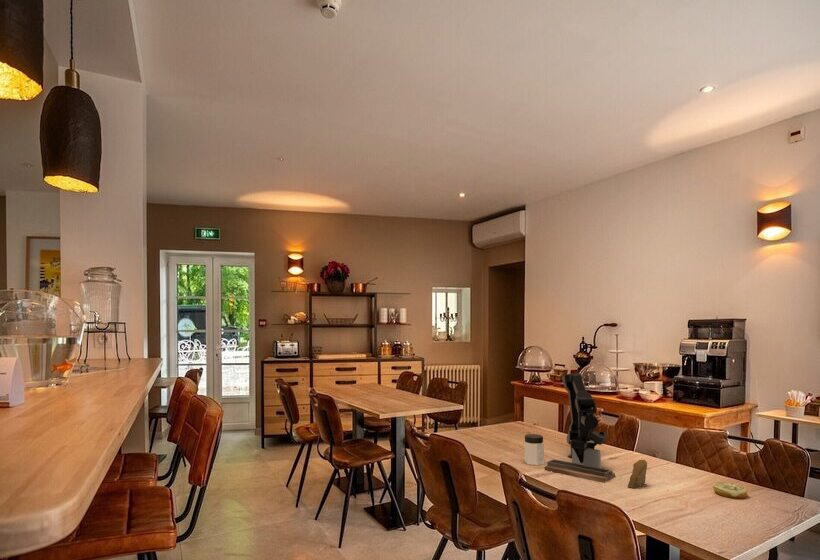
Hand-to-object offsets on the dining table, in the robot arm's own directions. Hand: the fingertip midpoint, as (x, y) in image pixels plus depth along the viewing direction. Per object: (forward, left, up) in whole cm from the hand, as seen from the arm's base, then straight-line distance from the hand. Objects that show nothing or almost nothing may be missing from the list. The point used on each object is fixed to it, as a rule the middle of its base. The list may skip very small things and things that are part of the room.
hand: (586, 460), depth 230 cm
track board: (+12, +2, -2) cm, 12 cm away
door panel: (0, 0, -3) cm, 3 cm away
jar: (+10, -20, -3) cm, 23 cm away
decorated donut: (0, +55, -3) cm, 55 cm away
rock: (+12, +25, -3) cm, 28 cm away
